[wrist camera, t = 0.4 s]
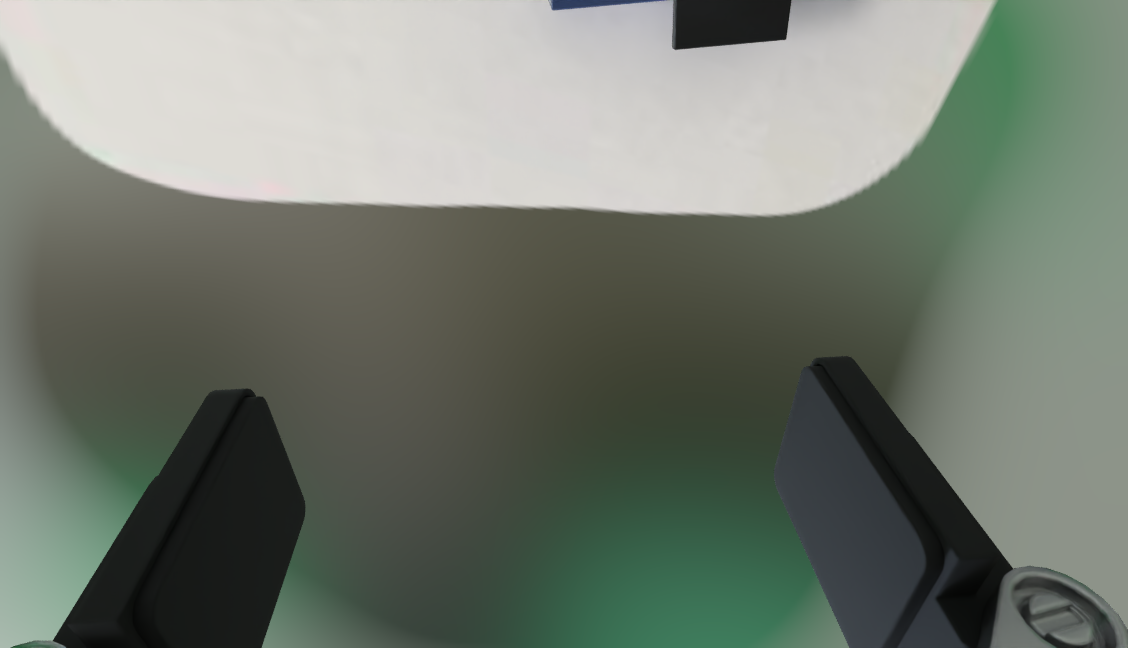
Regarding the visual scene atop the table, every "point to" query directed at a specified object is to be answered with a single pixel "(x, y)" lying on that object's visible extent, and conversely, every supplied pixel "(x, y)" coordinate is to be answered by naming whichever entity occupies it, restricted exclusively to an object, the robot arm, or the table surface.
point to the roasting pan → (713, 20)
